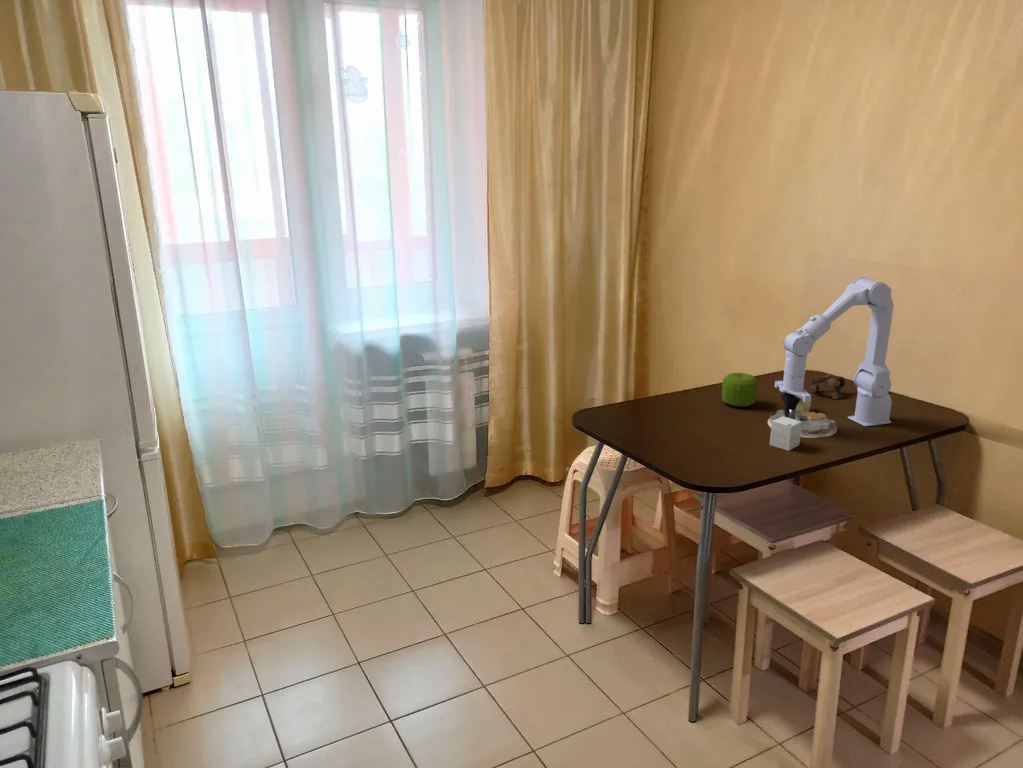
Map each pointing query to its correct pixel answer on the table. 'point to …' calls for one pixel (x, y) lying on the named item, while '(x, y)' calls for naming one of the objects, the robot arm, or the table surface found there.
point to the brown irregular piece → (832, 382)
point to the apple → (739, 389)
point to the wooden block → (803, 405)
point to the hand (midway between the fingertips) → (789, 417)
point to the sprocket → (808, 420)
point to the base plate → (814, 435)
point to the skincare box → (785, 433)
